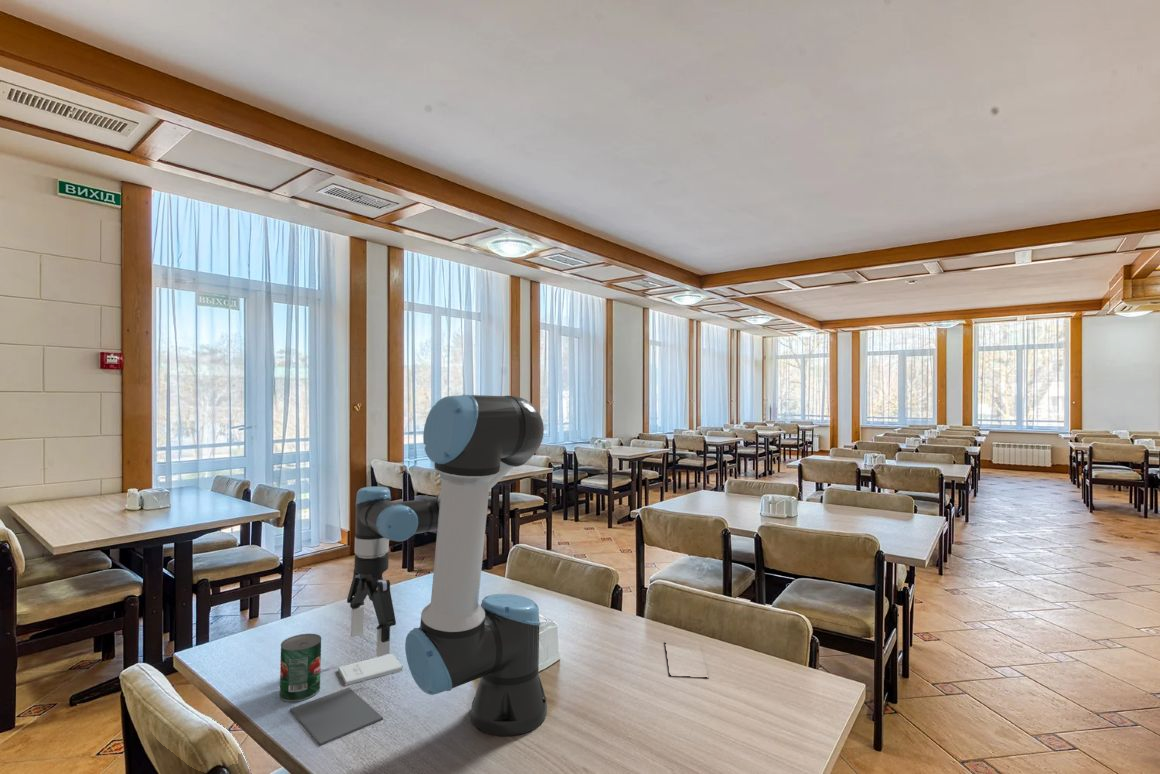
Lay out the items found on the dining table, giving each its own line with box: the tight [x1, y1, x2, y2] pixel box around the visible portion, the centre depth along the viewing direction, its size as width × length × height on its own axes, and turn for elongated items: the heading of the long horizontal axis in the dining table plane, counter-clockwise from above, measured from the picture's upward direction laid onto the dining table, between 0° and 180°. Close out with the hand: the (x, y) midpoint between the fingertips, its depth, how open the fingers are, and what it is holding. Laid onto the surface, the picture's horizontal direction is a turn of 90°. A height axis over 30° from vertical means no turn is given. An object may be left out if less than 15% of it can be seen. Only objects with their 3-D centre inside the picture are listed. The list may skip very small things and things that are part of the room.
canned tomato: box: [279, 633, 322, 703], centre depth 121 cm, size 8×8×11 cm
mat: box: [289, 687, 384, 746], centre depth 112 cm, size 16×12×1 cm
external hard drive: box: [337, 653, 403, 686], centre depth 131 cm, size 2×8×12 cm
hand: (369, 644), depth 131 cm, fingers open, 13 cm apart
